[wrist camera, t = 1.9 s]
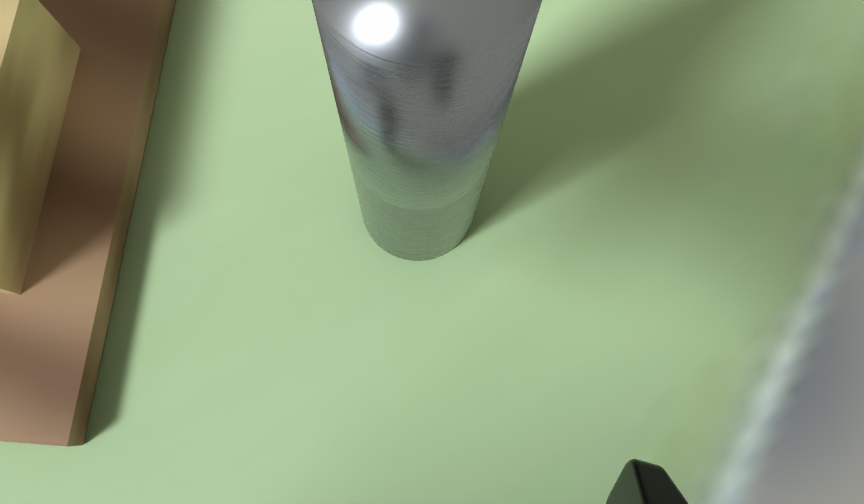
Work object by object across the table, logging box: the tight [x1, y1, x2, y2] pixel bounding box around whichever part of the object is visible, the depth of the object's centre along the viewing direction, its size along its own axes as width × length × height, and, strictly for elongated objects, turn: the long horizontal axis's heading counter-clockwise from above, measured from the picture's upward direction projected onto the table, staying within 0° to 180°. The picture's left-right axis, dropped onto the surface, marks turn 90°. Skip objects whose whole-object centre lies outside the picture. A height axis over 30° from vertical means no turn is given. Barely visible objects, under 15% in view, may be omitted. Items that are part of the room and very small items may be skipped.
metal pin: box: [312, 0, 542, 261], centre depth 17 cm, size 4×4×13 cm
